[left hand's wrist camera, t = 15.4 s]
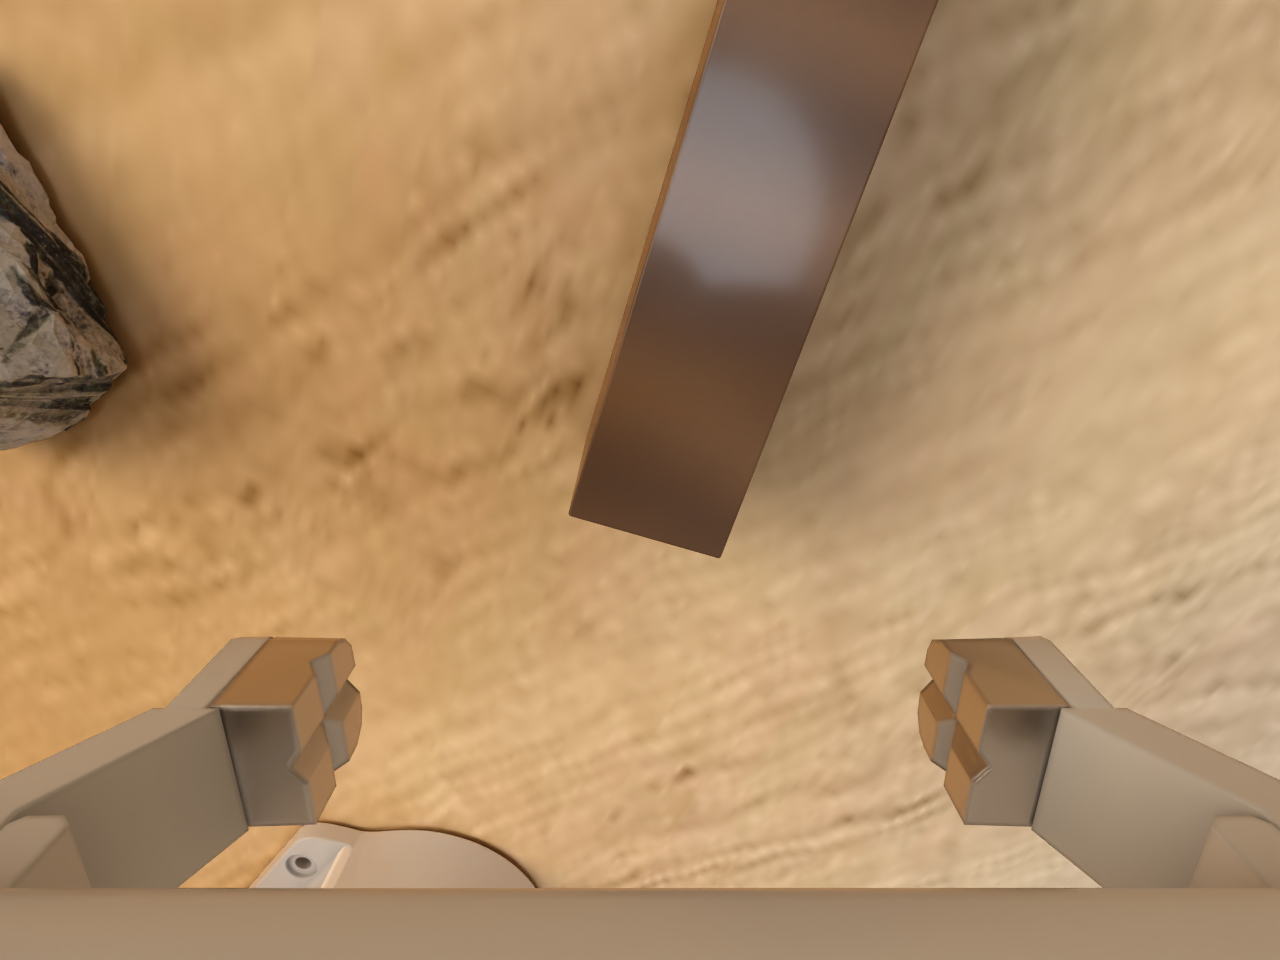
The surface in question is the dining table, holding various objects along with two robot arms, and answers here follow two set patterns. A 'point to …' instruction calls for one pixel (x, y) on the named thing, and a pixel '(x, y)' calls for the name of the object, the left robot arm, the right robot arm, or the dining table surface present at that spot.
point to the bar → (740, 256)
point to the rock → (45, 316)
